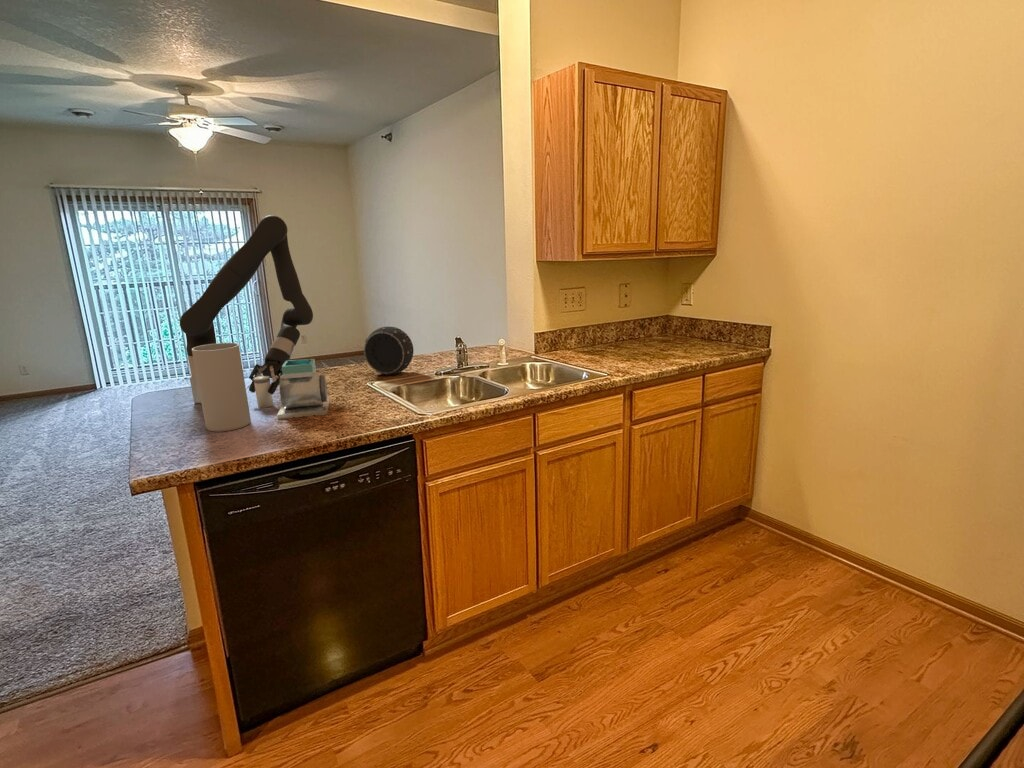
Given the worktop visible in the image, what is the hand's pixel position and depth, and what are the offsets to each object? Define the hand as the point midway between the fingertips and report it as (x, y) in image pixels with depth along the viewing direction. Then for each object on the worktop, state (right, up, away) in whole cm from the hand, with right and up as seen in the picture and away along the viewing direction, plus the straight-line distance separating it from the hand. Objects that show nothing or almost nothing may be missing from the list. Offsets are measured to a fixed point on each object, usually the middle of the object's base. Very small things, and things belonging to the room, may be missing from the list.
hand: (260, 392), depth 186 cm
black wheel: (+35, +7, +43) cm, 56 cm away
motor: (+17, -6, -4) cm, 18 cm away
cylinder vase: (-2, -10, -18) cm, 20 cm away
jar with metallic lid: (+1, -5, +3) cm, 5 cm away
